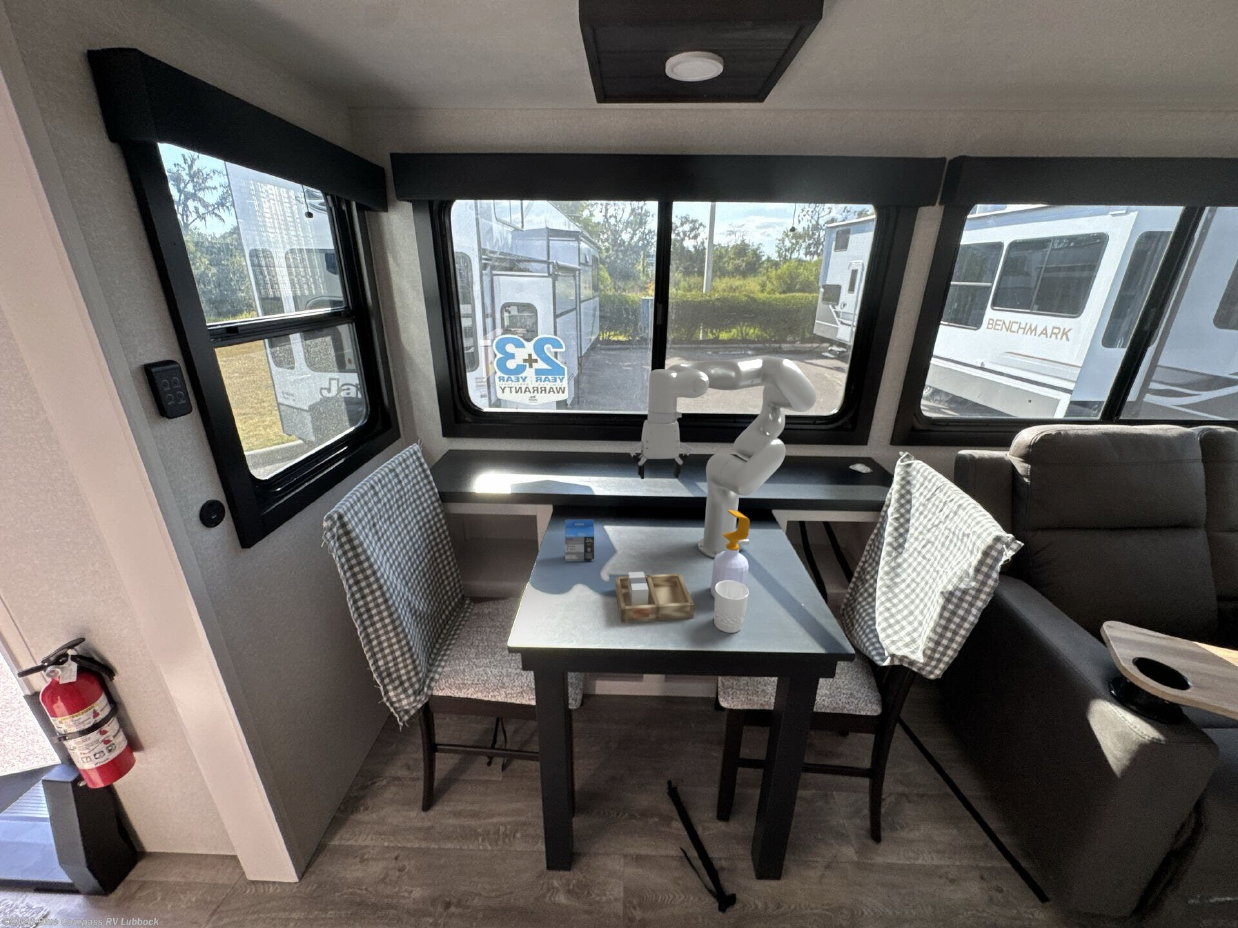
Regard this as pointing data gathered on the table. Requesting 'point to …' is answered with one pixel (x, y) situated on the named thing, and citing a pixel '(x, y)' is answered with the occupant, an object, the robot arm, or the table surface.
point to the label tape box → (579, 540)
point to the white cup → (730, 605)
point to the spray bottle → (732, 556)
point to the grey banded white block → (637, 588)
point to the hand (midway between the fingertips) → (658, 476)
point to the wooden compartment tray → (656, 599)
